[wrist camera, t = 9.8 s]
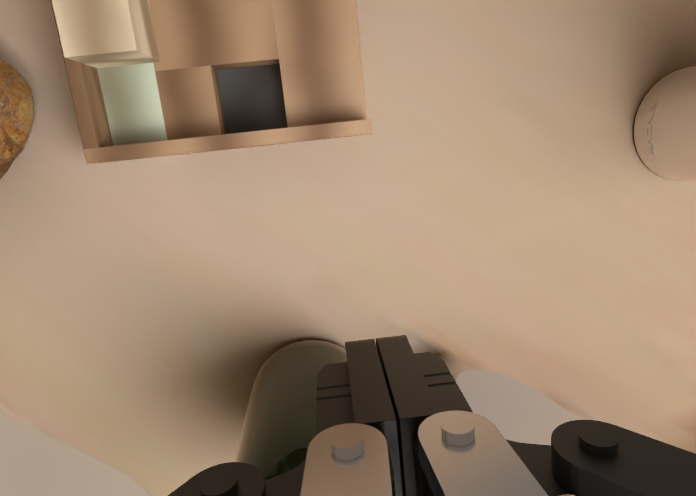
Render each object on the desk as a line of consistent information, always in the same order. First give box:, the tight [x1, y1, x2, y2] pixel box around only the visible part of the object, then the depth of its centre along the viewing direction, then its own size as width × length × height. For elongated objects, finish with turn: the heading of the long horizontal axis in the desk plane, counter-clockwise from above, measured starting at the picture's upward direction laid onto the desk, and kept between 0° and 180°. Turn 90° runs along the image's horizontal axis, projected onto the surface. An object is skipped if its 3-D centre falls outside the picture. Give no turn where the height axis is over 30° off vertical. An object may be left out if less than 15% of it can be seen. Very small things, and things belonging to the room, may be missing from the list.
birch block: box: [52, 0, 160, 68], centre depth 32 cm, size 4×4×4 cm
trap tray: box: [51, 0, 372, 164], centre depth 34 cm, size 20×18×5 cm
